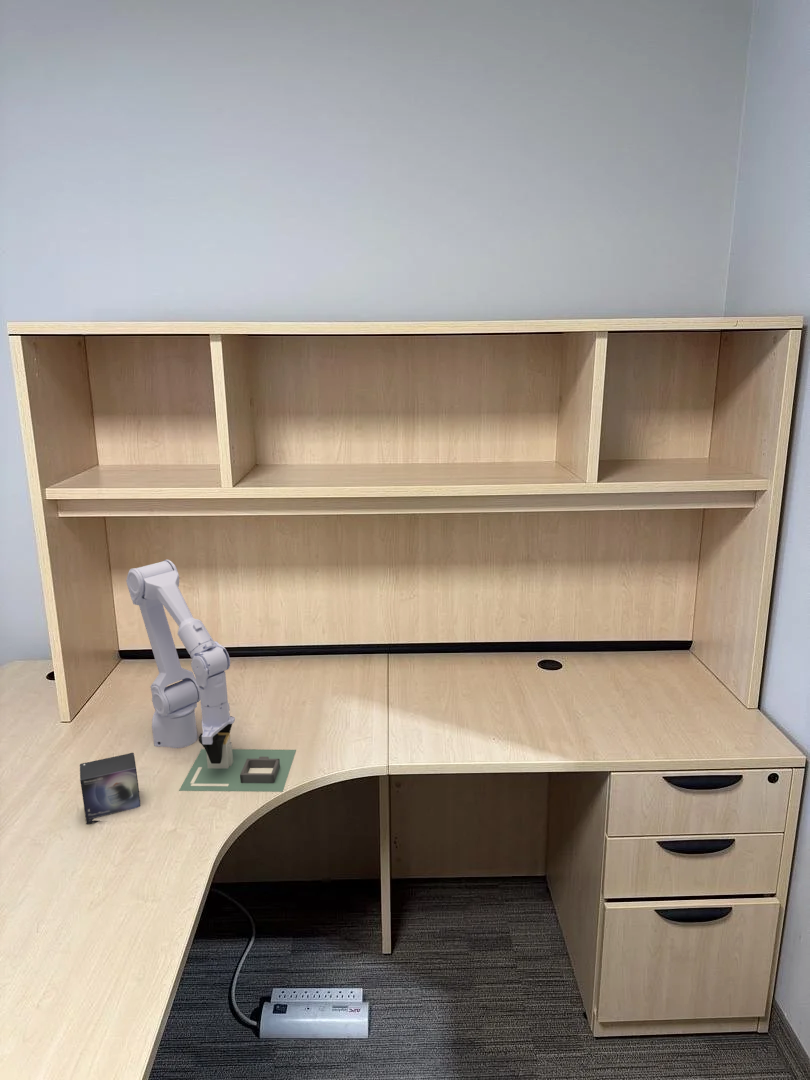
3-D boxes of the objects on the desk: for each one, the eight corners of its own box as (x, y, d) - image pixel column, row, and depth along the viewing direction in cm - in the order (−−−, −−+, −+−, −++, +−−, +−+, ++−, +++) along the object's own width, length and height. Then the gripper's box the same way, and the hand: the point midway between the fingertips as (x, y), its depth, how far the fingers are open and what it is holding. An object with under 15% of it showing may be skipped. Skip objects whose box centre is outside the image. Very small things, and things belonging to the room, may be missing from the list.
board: (179, 795, 156) (177, 782, 155) (202, 753, 171) (200, 741, 170) (283, 796, 155) (282, 783, 154) (296, 754, 170) (295, 741, 169)
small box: (85, 826, 146) (78, 780, 144) (85, 807, 152) (78, 763, 149) (142, 812, 150) (136, 767, 148) (139, 794, 156) (133, 751, 153)
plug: (207, 768, 163) (205, 741, 161) (212, 759, 166) (209, 732, 165) (230, 768, 163) (227, 741, 161) (234, 759, 166) (232, 732, 164)
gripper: (223, 717, 153) (228, 775, 157) (240, 685, 167) (245, 738, 171) (189, 717, 154) (195, 774, 157) (210, 685, 168) (215, 738, 171)
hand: (219, 756), depth 164 cm, fingers open, 5 cm apart
